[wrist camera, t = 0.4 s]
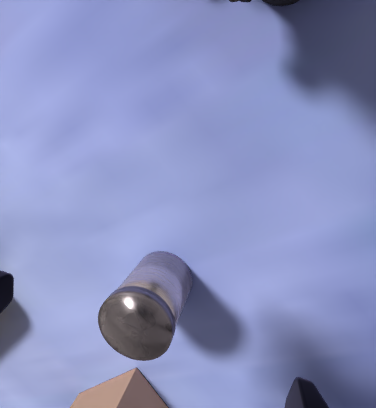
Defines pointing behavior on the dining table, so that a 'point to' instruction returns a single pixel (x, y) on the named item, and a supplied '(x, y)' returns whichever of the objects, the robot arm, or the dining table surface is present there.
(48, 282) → the dining table surface
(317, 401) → the robot arm
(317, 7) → the dining table surface
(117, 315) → the lens
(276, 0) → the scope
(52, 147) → the dining table surface
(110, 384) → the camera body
